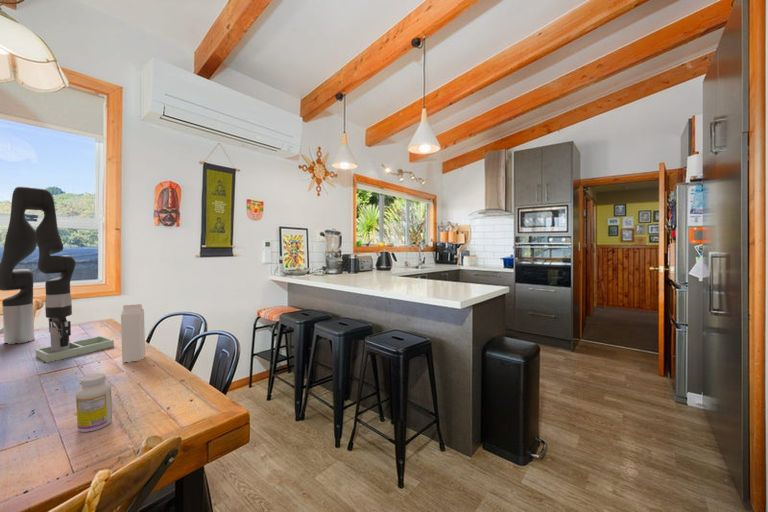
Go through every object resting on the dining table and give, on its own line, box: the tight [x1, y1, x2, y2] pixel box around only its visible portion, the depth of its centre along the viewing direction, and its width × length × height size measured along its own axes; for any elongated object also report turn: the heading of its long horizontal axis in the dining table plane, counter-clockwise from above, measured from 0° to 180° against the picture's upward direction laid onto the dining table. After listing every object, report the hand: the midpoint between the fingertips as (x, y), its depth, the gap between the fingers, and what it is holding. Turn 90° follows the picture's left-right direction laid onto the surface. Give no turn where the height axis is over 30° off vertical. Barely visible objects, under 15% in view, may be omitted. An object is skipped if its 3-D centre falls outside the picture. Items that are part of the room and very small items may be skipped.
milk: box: [120, 303, 146, 364], centre depth 127 cm, size 6×6×22 cm
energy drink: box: [49, 327, 70, 353], centre depth 131 cm, size 5×5×12 cm
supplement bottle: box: [75, 372, 113, 433], centre depth 82 cm, size 7×7×13 cm
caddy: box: [35, 335, 115, 363], centre depth 135 cm, size 12×21×3 cm, turn 152°
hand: (60, 344), depth 131 cm, fingers open, 7 cm apart
